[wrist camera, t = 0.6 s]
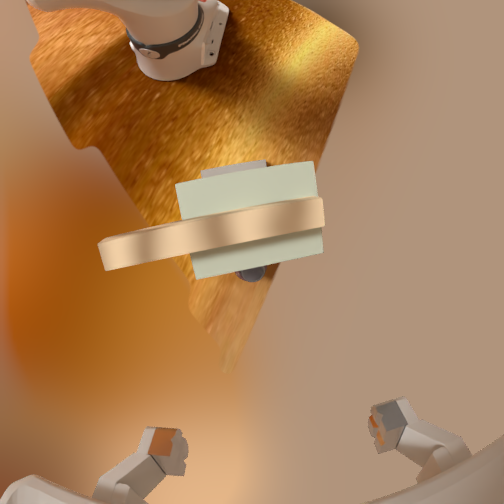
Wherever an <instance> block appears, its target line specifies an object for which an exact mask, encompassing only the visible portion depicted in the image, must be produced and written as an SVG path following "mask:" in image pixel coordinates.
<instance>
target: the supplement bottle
mask: <svg viewBox="0 0 504 504" xmlns="http://www.w3.org/2000/svg"><path fill="white" fill-rule="evenodd" d="M266 269H267V265H265V266H260V267H255V268H250V269H246V270H241V271H236V272H235V273H236V275H237V276H238V277H239V278H240V279H242V280H245V281H248V282H256V281H259V280H260V279H261V278H262V277H263V276H264V274H265V271H266Z"/></svg>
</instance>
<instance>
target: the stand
mask: <svg viewBox="0 0 504 504" xmlns="http://www.w3.org/2000/svg"><path fill="white" fill-rule="evenodd" d="M201 176H202V178H201V179H196V180H192V181H187V182H182V183H178V184H175V187H176V192H177V197H178V202H179V207H180V211H181V216H182V220H185V219H189V218H194V217H199V216H204V215H209V214H214V213H219V212H224V211H229V210H234V209H239V208H244V207H250V206H255V205H261V204H266V203H272V202H278V201H284V200H290V199H296V198H302V197H308V196H316V197H318V194H317V187H316V178H315V171H314V164H313V161H306V162H298V163H291V164H283V165H276V166H269V167H267V166H266V160H258V161H252V162H246V163H240V164H234V165H228V166H223V167H217V168H212V169H207V170H202V171H201ZM320 253H323V241H322V230H321V227H318V228H313V229H308V230H303V231H298V232H293V233H288V234H282V235H277V236H272V237H267V238H262V239H257V240H252V241H247V242H242V243H237V244H232V245H227V246H222V247H217V248H213V249H208V250H203V251H198V252H193V253H190V256H191V260H192V264H193V268H194V272H195V276H196V280H197V279H202V278H207V277H212V276H216V275H221V274H226V273H231V272H236V271H241V270H246V269H250V268H255V267H260V266H265V265H269V264H274V263H279V262H283V261H288V260H293V259H297V258H302V257H307V256H311V255H316V254H320Z"/></svg>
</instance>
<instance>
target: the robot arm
mask: <svg viewBox="0 0 504 504" xmlns="http://www.w3.org/2000/svg"><path fill="white" fill-rule="evenodd" d="M26 1H27V2H28V3H29V4H30V5H31V6H33V7H35V8H36V9H39V10H42V11H46V12H53V11H58V10H63V9H70V8H89V9H96V10H101V11H105V12H108V13H111V14H114V15H115V16H117V17H118V18H119V19H120V20H121V21H122V22H123V24H124V25H125V26H126V32H127V35H128V37H129V39H130V40H131V41H130V46H131V48H132V50H133V51H134V52H135V53H136V57H137V62H138V65H139V67H140V69H141V70H142V72H143V73H144V74H146V75H147V76H149V77H151V78H153V79H156V80H162V81H171V80H177V79H180V78H183V77H186V76H188V75H190V74H191V73H193V72H194V71H196V70H198V69H200V68H204V67H208V66H212V65H214V64H215V63H216V61H217V58H218V53H219V49H220V45H221V41H222V37H223V34H224V30H225V26H226V22H227V19H228V15H229V9H228V7H226V6H225V5H224V4H222V3H221V2H219V1H217V0H26ZM210 54H213V56H210ZM371 414H372V415H371V416H370V417H369V420H368V428H369V431H370V434H371V436H372V437H374V438H375V441H374V444H375V447H376V449H377V452H378V454H380V453H383V452H387V451H390V450H393V449H396V450H398V451H399V452H400V453H402V454H403V455H405V456H406V457H408V458H409V459H411V460H412V461H413V462H415V463H416V464H418V465H420V466H421V467H423V469H422V470H421V471H420V473H419V474H418V476H417V477H416V480H417V482H418V484H416V485H414V486H411V487H408V488H406V489H403V490H401V491H398V492H396V493H393V494H390V495H387V496H384V497H381V498H378V499H375V500H372V501H369V502H365V503H362V504H504V435H502V436H501V437H500V438H498V439H497V440H495V441H494V442H492V443H491V444H489V445H488V446H486V447H485V448H483V449H482V450H480V451H479V452H477V453H476V454H474V455H472V454H471V452H470V451H469V449H468V448H467V446H466V444H465V442H464V441H463V439H462V438H461V436H458V435H456V434H454V433H451V432H449V431H447V430H444V429H442V428H440V427H437V426H435V425H433V424H431V423H429V422H427V421H424V420H419V419H418V417H417V415H416V414H415V412H414V410H413V409H412V407H411V405H410V404H409V402H408V401H407V399H406V397H404V396H402V397H399V398H396V399H394V400H389V401H386V402H383V403H380V404H377V405H373V406H372V407H371ZM187 457H188V444H187V441H186V439H185V438H183V437H182V432H181V430H180V429H174V428H161V427H149V426H147V427H146V428H145V430H144V433H143V436H142V439H141V441H140V444H139V447H138V450H137V453H133V454H131V455H130V456H129V457H127V458H126V459H125V460H123V461H122V462H121V463H119V464H118V465H116V466H115V467H114V468H112V469H111V470H109V471H108V472H107V473H105V474H104V475H102V476H101V477H100V478H99V481H98V484H97V486H96V488H95V491H94V493H93V496H92V498H91V497H88V496H85V495H83V494H80V493H77V492H74V491H72V490H69V489H67V488H65V487H62V486H60V485H57V484H55V483H53V482H50V481H48V480H46V479H44V478H42V477H40V476H38V475H30V476H27V477H25V478H22V479H20V480H18V481H16V482H14V483H12V484H11V485H10V486H9V487H8V488H7V490H6V491H5V493H4V494H3V496H2V498H1V499H0V504H148V503H147V502H146V501H145V500H143V499H144V498H145V497H146V496H147V495H148V494H149V493H150V492H151V491H152V490H153V489H154V488H155V487H156V486H157V485H158V484H159V483H160V482H161V481H162V480H163V479H164V477H166V475H174V476H184V473H185V468H186V464H185V462H184V460H185V459H186V458H187Z"/></svg>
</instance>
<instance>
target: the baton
mask: <svg viewBox="0 0 504 504" xmlns="http://www.w3.org/2000/svg"><path fill="white" fill-rule="evenodd" d="M323 226H325V219H324V210H323V201H322V198H320V197H316V196H308V197H302V198H296V199H290V200H284V201H278V202H272V203H266V204H261V205H255V206H250V207H244V208H239V209H234V210H229V211H224V212H219V213H214V214H209V215H204V216H199V217H194V218H189V219H185V220H180V221H176V222H171V223H166V224H162V225H158V226H153V227H149V228H145V229H140V230H136V231H132V232H128V233H124V234H120V235H116V236H112V237H108V238H105V239H104V240H102V241H101V242H100V243H98V247H99V251H100V254H101V258H102V261H103V264H104V267H105V271H108V270H113V269H117V268H122V267H126V266H131V265H136V264H141V263H145V262H150V261H155V260H159V259H164V258H169V257H174V256H179V255H183V254H188V253H193V252H198V251H203V250H208V249H213V248H217V247H222V246H227V245H232V244H237V243H242V242H247V241H252V240H257V239H262V238H267V237H272V236H277V235H282V234H288V233H293V232H298V231H303V230H308V229H313V228H318V227H323Z"/></svg>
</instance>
